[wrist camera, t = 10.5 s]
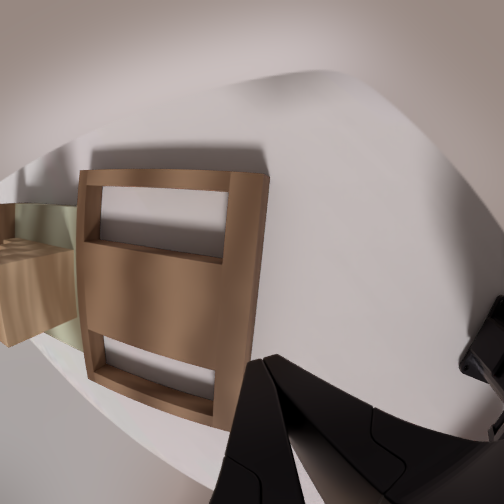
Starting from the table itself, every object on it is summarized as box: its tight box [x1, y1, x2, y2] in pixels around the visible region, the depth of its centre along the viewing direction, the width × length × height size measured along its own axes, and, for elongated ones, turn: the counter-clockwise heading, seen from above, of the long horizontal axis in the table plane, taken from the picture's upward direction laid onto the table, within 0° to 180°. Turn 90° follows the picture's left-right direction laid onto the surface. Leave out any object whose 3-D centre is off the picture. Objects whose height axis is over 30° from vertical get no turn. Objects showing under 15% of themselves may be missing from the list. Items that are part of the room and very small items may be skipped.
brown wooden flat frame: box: [0, 169, 270, 432], centre depth 21 cm, size 27×19×5 cm
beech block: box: [0, 238, 77, 348], centre depth 19 cm, size 10×6×8 cm, turn 84°
